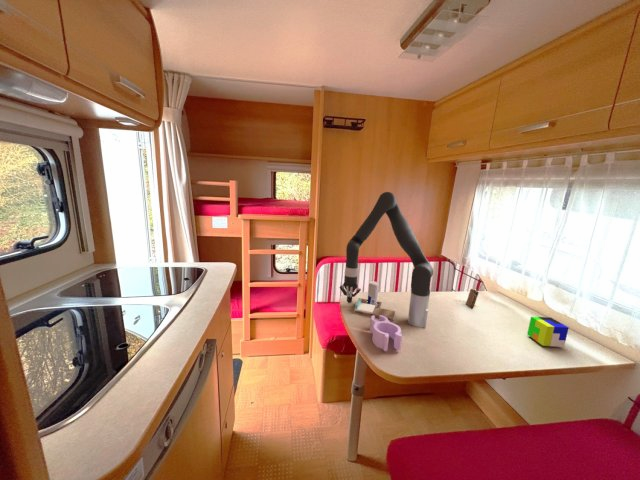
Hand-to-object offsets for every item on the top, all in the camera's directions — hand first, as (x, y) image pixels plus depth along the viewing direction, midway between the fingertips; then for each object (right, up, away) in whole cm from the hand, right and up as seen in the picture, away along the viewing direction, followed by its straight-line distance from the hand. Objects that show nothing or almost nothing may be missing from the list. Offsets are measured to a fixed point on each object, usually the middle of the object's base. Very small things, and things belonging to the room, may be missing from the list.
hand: (349, 302), depth 156 cm
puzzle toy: (+94, -13, -25) cm, 99 cm away
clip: (+13, -10, -30) cm, 34 cm away
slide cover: (+9, -3, -3) cm, 10 cm away
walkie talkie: (+77, -5, +11) cm, 77 cm away
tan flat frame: (+16, -4, -1) cm, 16 cm away
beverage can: (+14, -3, +5) cm, 16 cm away
